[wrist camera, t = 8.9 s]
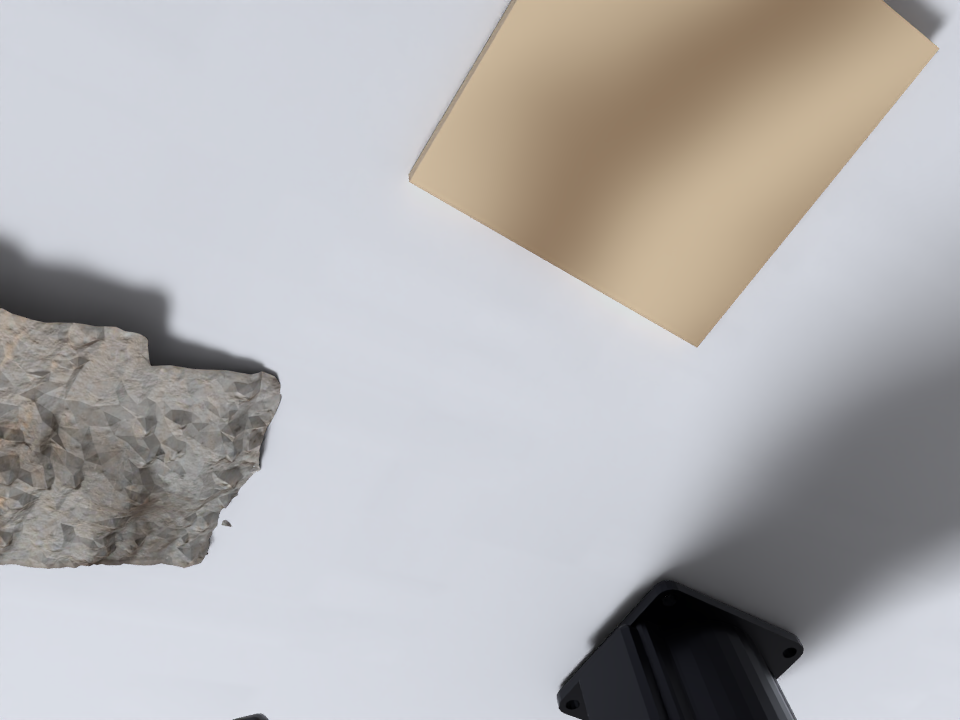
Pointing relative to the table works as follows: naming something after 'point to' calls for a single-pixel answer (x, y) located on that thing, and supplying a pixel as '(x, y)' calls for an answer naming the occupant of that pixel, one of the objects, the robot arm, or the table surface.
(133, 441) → the stone fragment
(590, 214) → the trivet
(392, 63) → the table surface
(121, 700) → the table surface
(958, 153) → the table surface
